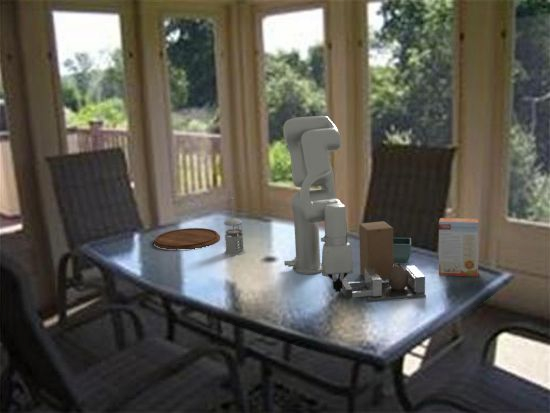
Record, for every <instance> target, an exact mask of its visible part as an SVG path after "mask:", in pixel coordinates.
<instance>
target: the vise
mask: <svg viewBox="0 0 550 413" xmlns="http://www.w3.org/2000/svg"><path fill="white" fill-rule="evenodd" d="M404 270H405V271H406V272H407V275H408V284H407V286H406V288H405V289H403V290H393V289H392V288H391V287H390V285H389V283H388V281H386V282H385V281H384V282H382V296H374V297H373V296H364V298H365V300H366V301H367V303H376V302H377V303H378V302H387V301H388V302H389V301H400V300H411V299H413V300H414V299H423V298H424V299H425V298H427V294H426V276H425V275H424V274H423V273H422V272H421V270H419V269H418V267H416V265H414V264H413V265H406V266H405V269H404ZM358 288H359V291H365V290H368V288H367V286H364V287H358Z"/></svg>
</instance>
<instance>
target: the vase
mask: <svg viewBox="0 0 550 413" xmlns="http://www.w3.org/2000/svg"><path fill="white" fill-rule="evenodd" d="M387 282H388V283H389V285H390V287H391V288H392V289H393V290H403V289H405V288H406V286H407V284H408V275H407V272H406V271H405V269H404V267H403V265H402V264H393V268H392V269H391V271H390V272H389V275H388V280H387Z"/></svg>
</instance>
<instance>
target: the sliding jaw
mask: <svg viewBox="0 0 550 413" xmlns="http://www.w3.org/2000/svg"><path fill="white" fill-rule="evenodd" d="M382 281H383V280H382V279H381V278H380V276H379V275H378V274H377V272H376V271H375V270H374V268H365V278H364V280H361V281H359V280H358V281H348V279H347V278H346V277H345V278H344V279H343V281H342V289H341V291H342V292H343V295H344V297H345V298H346V299H353V298H359V297H365V296H373V297H374V296H382V283H383V282H382ZM364 286H367V288H368V290H365V291H361V290H354V291H353V288H359V287H364Z"/></svg>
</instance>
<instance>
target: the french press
mask: <svg viewBox="0 0 550 413" xmlns="http://www.w3.org/2000/svg"><path fill="white" fill-rule="evenodd" d="M229 201H230V202H231V205H233V201H234V197H229ZM231 215H232V218H230V219H227V220H225V221H224V222H223V224H224V225H225V226H228V227H232V229H228V230H226V231H225V233H226V234H225V235H224V237H225V239H224V240H225V252H224V253H225V254H226V256H228V255H230V257H233V256H234V257H236V255H238V256H242V255H244V254H246V253H247V251H246V249H245V248H244V235H243V234H244V233H243V226H242V224H243V221H242V220H241V219H238V218H234V212H233V210H231ZM234 226H235V227H237V229H236V228H234ZM240 227H241V229H240ZM225 254H224V255H225Z"/></svg>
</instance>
